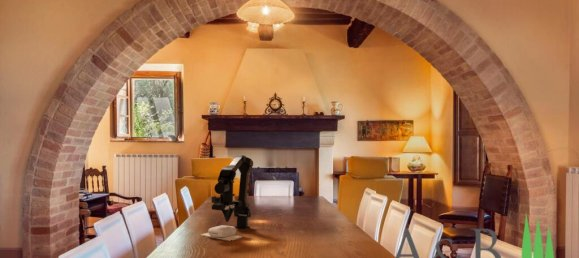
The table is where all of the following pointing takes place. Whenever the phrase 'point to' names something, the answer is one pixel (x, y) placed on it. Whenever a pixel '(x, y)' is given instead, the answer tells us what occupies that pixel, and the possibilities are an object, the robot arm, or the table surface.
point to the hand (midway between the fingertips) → (227, 221)
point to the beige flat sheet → (231, 237)
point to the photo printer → (222, 231)
